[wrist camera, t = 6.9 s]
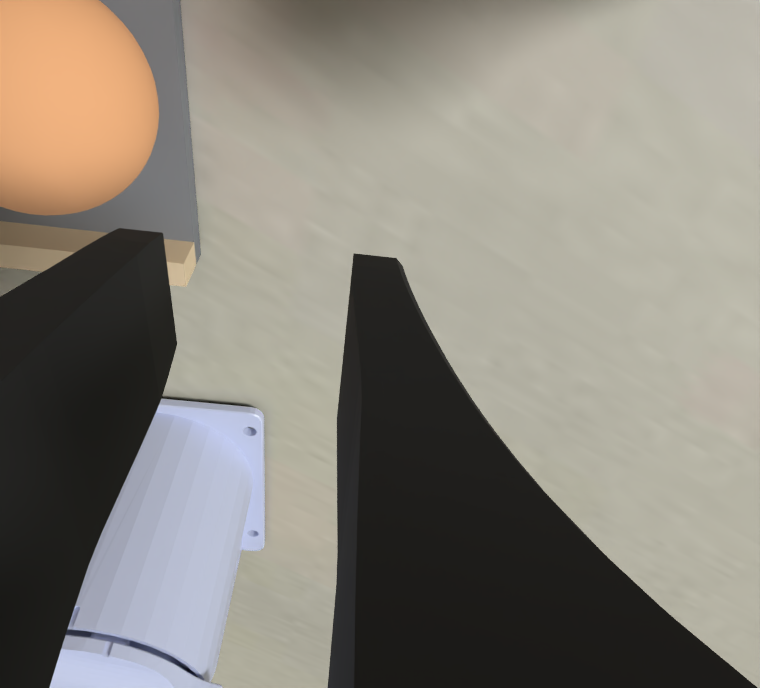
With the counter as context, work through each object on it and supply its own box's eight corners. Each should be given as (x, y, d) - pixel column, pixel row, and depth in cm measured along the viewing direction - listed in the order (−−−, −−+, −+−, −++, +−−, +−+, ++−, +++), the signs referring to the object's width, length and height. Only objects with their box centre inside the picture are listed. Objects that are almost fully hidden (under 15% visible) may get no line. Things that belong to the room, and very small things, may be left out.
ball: (129, 148, 18) (203, 226, 15) (-74, 180, 15) (-32, 281, 12) (96, -55, 15) (182, -8, 12) (-166, -58, 12) (-139, 3, 9)
